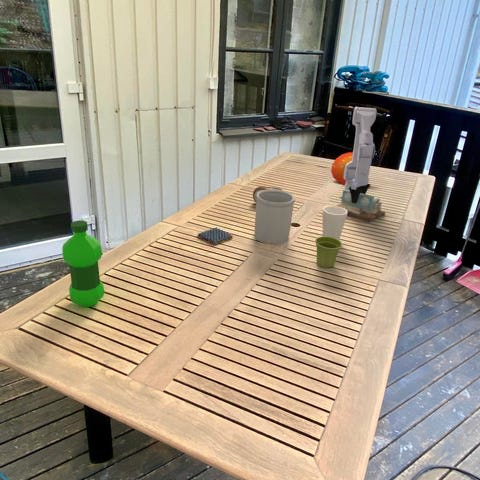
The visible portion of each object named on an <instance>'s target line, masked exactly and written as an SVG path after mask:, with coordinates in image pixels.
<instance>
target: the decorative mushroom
mask: <svg viewBox="0 0 480 480" xmlns="http://www.w3.org/2000/svg"><path fill="white" fill-rule="evenodd" d="M352 157H353V151H352V152H346V153H343V154H341V155H338V157H337V158H335V160H334V161H333V162H332V164H331V169H330V173H331V175H332V178H333V179H334V180H335V181H337V182H338V183H340V184H342V185H345V184H346V180H345V179H344V170H345V166H346V164H347V163H349V162H350V161H352ZM349 168H357V167H349Z"/></svg>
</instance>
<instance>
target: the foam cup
mask: <svg viewBox="0 0 480 480" xmlns="http://www.w3.org/2000/svg"><path fill="white" fill-rule="evenodd" d="M347 213H348V212H347V210H346V209H345V208H342V207H339V206H337V205H326V206H324V207H323V208H322V215H321V216H322V237H324V236H326V237H333V238H336V239H338V240H340V239H341V236H342V232H343V229H344V226H345V223H346V220H347V218H348V215H347Z"/></svg>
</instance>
